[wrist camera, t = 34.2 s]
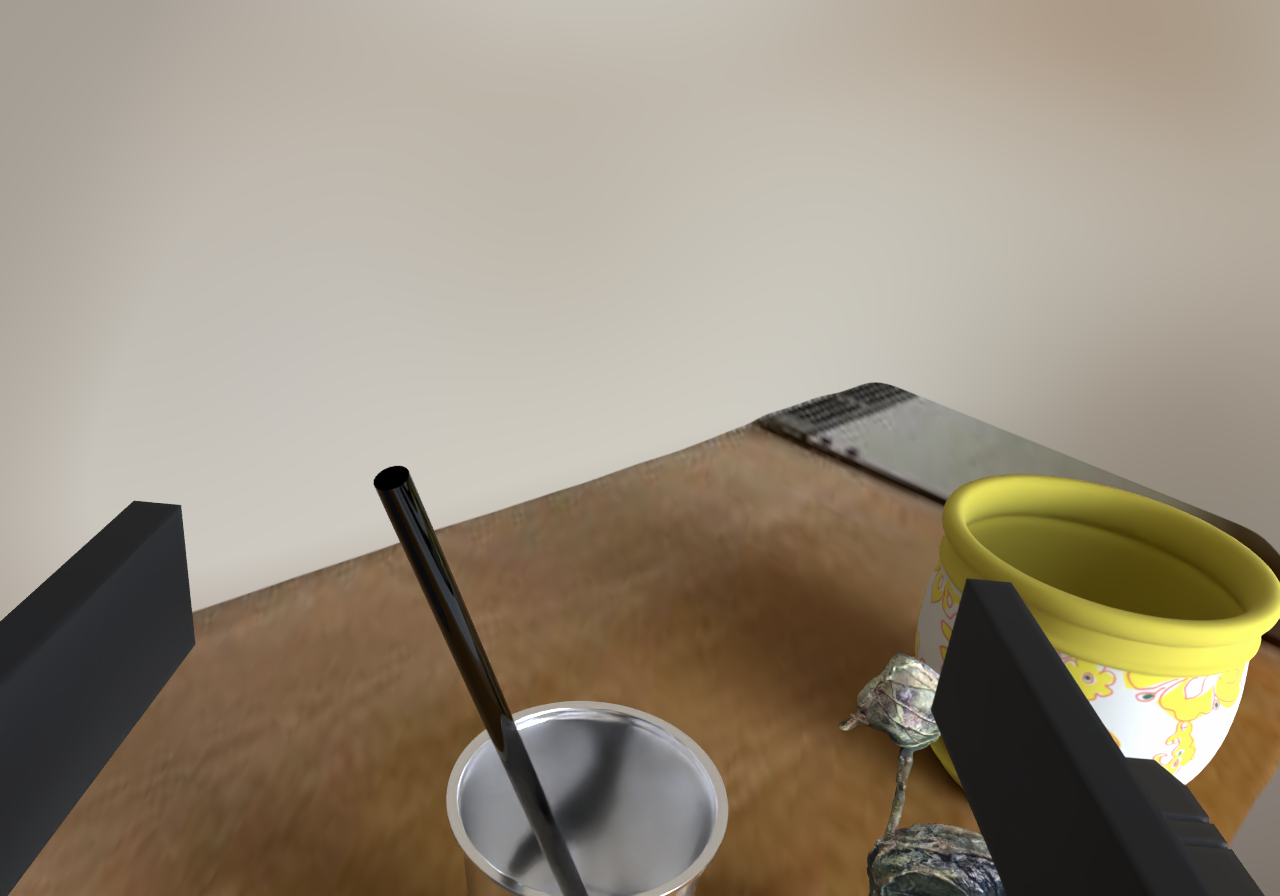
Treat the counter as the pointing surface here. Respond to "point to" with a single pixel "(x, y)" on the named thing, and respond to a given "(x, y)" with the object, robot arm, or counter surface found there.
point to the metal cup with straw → (561, 769)
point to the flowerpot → (1113, 605)
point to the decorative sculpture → (923, 853)
